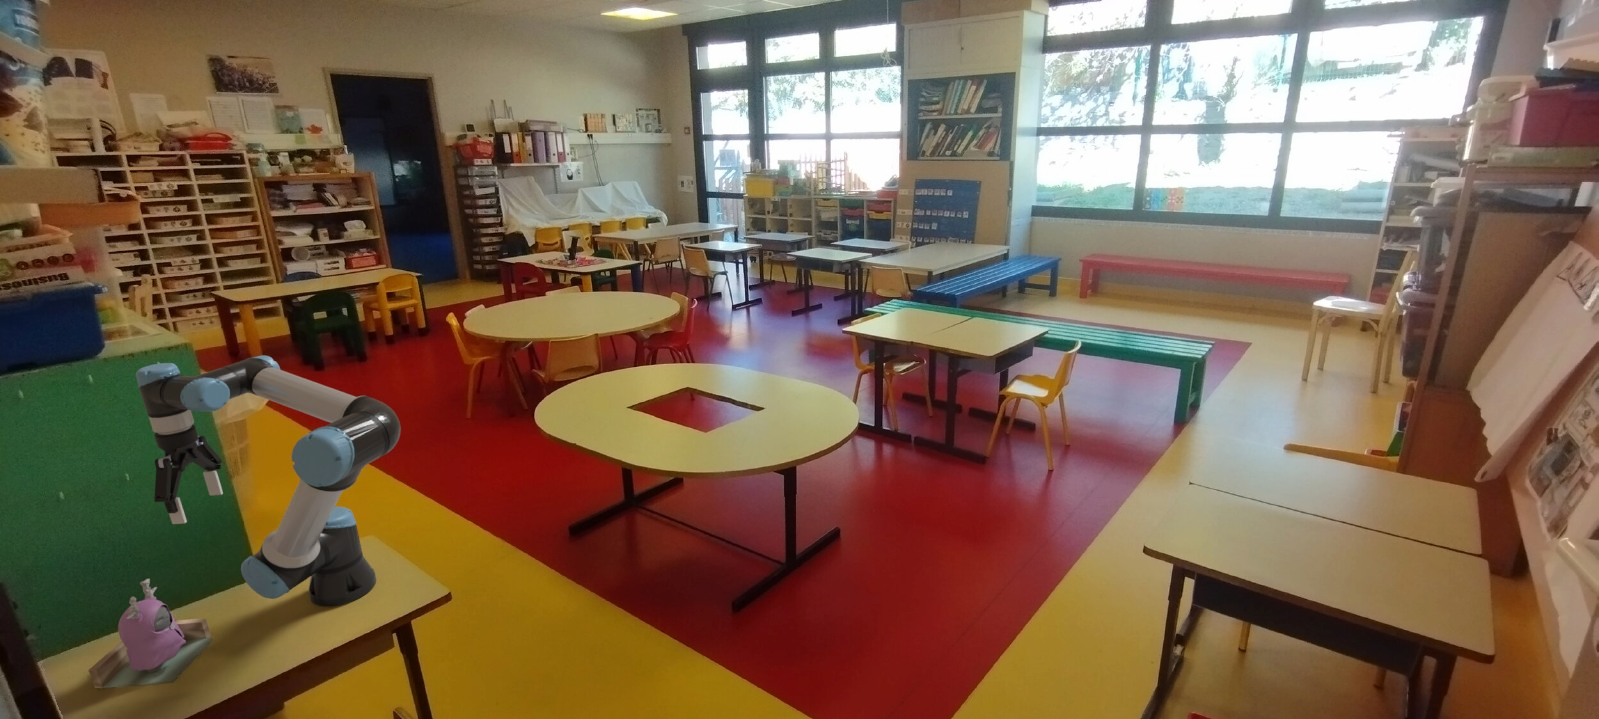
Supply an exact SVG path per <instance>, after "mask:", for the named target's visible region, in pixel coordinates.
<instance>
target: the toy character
mask: <svg viewBox="0 0 1599 719" xmlns="http://www.w3.org/2000/svg"><path fill="white" fill-rule="evenodd" d="M150 581H151V579H150V578H146V579H145V580H142V581H140V582H139V585H141V586H142V591H143V593H144V598H143V600H139V601H137V598H136V597H135V596H130V598H129V602H128V603H129V604H130V606H129V607H128V608H126V610H125V611H124V612H123V613H122V615H121V617H120V619H119V621H118V624H117V630H118V636H119V638H120V640H121V641H122V642H123V643H124V645H125V646H126V647H127V651H126V652H127V654H128V656H129V662H130V669H134V670H139V671H141V670H146V671H147V672H150V673H154V672H156V671H158V670H159V669H160V668H161V666H162V665H163V663H164V662H165V661H167V660H169V659H172V658H173V657H174V656H176V654H177V653H178V651H179V649H180V647H181V646H182V645H183V644H185V643H186V641H185V640H184V639H183V638H184V634H183V632H182V631H181V629H180V628H179V626H178V625H177V624H176V623H175V622H174V621H175V618H174V615H173V613H172V612H171V611H170V608H169V607H168V605H167V604H166V603H163V601H161V600H158V599H157V597H156V596H154V594H155V591H156V590H157V589H158V587H157V586H155V587H153V588H151V587H152V586H150V583H151V582H150Z"/></svg>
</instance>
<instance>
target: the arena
mask: <svg viewBox="0 0 1599 719" xmlns="http://www.w3.org/2000/svg"><path fill="white" fill-rule="evenodd" d="M174 622H175V623H176V624H177V625H178V626H179V628H180V629H181V631H182V632H183V634H184V638H183V639H184V640H185V641H186V643H185V644H183V645H182V646H181V647H180V649H179V651H178V653H177V654H176V656H174V657H173V658H172V659H169V660H167V661H165V662H164V663H163V665H162V666H161V668H160V669H159V670H158V671H156V672H154V673H150V672H147V671H146V670H141V671H139V670H134V669H130V662H129V656H128V654H127V652H126V651H127V647H126V646H125V645H124V643H123V642H122V640H121V641H119V642H118V643H116V645H115V646H114V647H113V648H112V649H111V650H109V651H108V652H107V653H106V654H105V655H104V656H103V657H101V658H100V659H99V661H97V662H96V663H95V664H93V665H92V666H91V667H90V668H89V669H88V673H89V676H90V679H91V681H92V683H93V684H92V685H93V687H94V688H100V689H109V688H110V689H111V688H120V687H121V688H122V687H124V688H125V687H134V686H145V685H148V686H149V685H159V684H169V683H172V684H173V683H174V682H175V681H176V680H177V679H178V678H179V677H180V675H182V674H183V672H185V670H187V668H188V667H189V666H190V665H191V664H192V663H193V662H194V661H195V660H196V659H197V657H198V656H200V655H201V654H202V652H203V651H204V650H206V648H207V647H208V646H209V645H210V644H211V643H212V642H213V641H214V638H213V637H211V636H212V634H211V630H210V628H209V624H208V622H207V618H206V617H205V618H203V617H202V618H193V619H191V618H190V619H176V620H175V619H174Z"/></svg>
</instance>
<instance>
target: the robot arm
mask: <svg viewBox="0 0 1599 719" xmlns="http://www.w3.org/2000/svg"><path fill="white" fill-rule="evenodd" d="M135 377H136V381H137V388H138V390H139V392H140V396H141V399H142V401H143V402H142V403H143V405H144V408H145V411H146V413H147V416H148V418H149V422H150V426H151V429H152V432H154V434H153V436H154V440H155V442H156V446H157V447H158V449H161V450H162V451H164V457H162V458H155V460H154V467H155V484H154V499H153V500H154V502H155V503H164V506H165V508H166V511H167V513H168V515H169V518H170V521H171V524H172V525H179V524H182V525H183V524H186V523H187V522H188V520H187V517H186V514H185V511H184V508H183V505H182V501H181V498H180V497H179V496H178V497H177V494H178V490H179V487H180V482H181V477H182V473H183V472H184V471H185V470H186V467H187V466H189V464H191V463H194V464H195V465H197V466H198V467H201V468H202V469H203V470H204V471H203V472H202V473H203V478H204V481H205V485H206V488H207V492H208V494H209V496H221V495H223V494H224V492H223V487H222V484H221V482H220V475H219V473H218V470H221V469H222V465H221V464H222V462H223V461H222V459H221V458H220V456H219V455H218V454H217V452H216V451H215V450H214V449H213V448H212V447H211V446H210V444H209V443H208V442H207V439H206V436H205V435H199V434H198V431H197V427H196V425H194V424H195V420H194V415H193V414H192V411H193V412H198V413H200V412H202V413H204V412H216V411H218V410H221V409H222V408H223V407H224V406H225V405H226V404H228V402H229V401H230V400H231V399H235V398H238V397H241V396H242V395H245V394H251V395H255V396H257V397H260V398H263V399H266V400H269V401H271V402H274V403H277V404H278V405H281V406H285V407H287V408H290V409H293V410H295V411H299V412H301V413H303V414H306V415H309V416H312V417H314V418H317V419H320V420H321V421H324V422H328V424H327V425H325V426H321V427H318V428H316V429H314V430H311V431H309V432H308V433H307V434H305V435H304V436H302V437H300V439H298V440H297V441H296V443H295V444H294V446H293V448H292V453H291V462H293V463H294V464H293V465H292V468H293V470H294V472H295V474H296V476H298V479H300V480H299V482H298V484H297V486H296V487H295V488H296V489H295V490H294V493H293V494H292V496H291V499H290V502H289V504H288V506H287V508H286V510H285V513H284V515H283V516H282V519H281V521H280V523H279V526H277V529H275V530H273V531H272V532H270V533H269V534H268V535H267V536H266V537H265V539H264V540H263V542H262V545H261V546H260V548H259V550H258V551H257V552H256V553H254V554H253V555H250V556H248V557H247V558H246V559H245V560H244V561H243V562H242V563H241V567H240V571H241V575H242V578H243V579H244V580H245V583H246V584H247V585H248V587H250V589H251V590H253V592H255V593H256V594H258V595H259V596H261V597H263V598H265V599H270V600H271V599H272V600H274V599H275V600H276V599H278V598H280V597H282V596H283V595H286V594H288V593H289V592H290V591H291V590H292V589H294V588H297V586H298V585H300V584H302V583H303V582H304V581H306V580H307V579H309V578H310V579H309V580H310V581H309V586H308V595H309V599H310V602H311V604H313V605H315V606H317V607H323V608H325V607H327V608H329V607H337V606H341V605H345V604H349V603H352V602H354V601H356V600H357V599H360V598H362V597H364V596H365V595H366V594H368V593H369V592H370V591H371V590H373V588H374V587H375V585H376V583H377V576H376V572H375V570H374V568H373V567H372V566H371V565H370V563H369V562H368V561H367V559H366V557H365V556H364V555H363V548H362V545H361V540H360V536H359V531H358V527H357V521H356V519H355V516H354V514H353V511H352V510H351V509H349V508H347V507H344V506H336V505H337V503H338V501H339V499H340V496H341V495H342V493H343V491H346V490H348V489H350V488H351V487H353V486H354V484H355V483H356V481H357V479H358V478H359V476H360V473H361V472H362V470H363V469H364V468H365V467H366V466H367V465H369V464H370V463H372V462H374V461H376V460H378V459H380V458H381V457H383V456H385V455H387V454H388V453H389V452H391V451H392V450H393V449H394V448H395V447H396V445H397V443H398V442H399V439H400V437H401V430H402V428H401V423H400V420H399V417H398V416H397V414H396V412H395V411H394V410H393V409H392V407H390V406H389V405H388V404H386V403H384V402H383V401H381V400H378V399H375V398H373V397H370V396H367V395H360V396H354V395H353V394H349V393H346V392H344V391H340V390H339V389H335V388H332V387H329V386H326V385H324V384H321V383H318V382H315V381H313V380H310V379H307V378H304V377H301V376H299V375H296V374H293V373H290V372H288V371H285V370H282V369H281V368H280V365H279V364H278V362H277V361H275V360H274V359H273V358H272V357H271V356H269V355H265V354H264V355H259V356H253V357H248V358H246V359H244V360H240V361H238V362H235V363H231V364H229V365H226V366H223V367H219V368H217V369H214V370H210V371H207V372H204V373H201V374H198V375H193V376H190V375H189V376H188V375H183V374H181V371H180V369H179V367H178V366H177V365H176V364H175V363H171V362H163V363H161V362H160V363H155V364H150V365H147V366H144V367H141V368H139V369H138V370H137V371H136V372H135Z"/></svg>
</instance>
